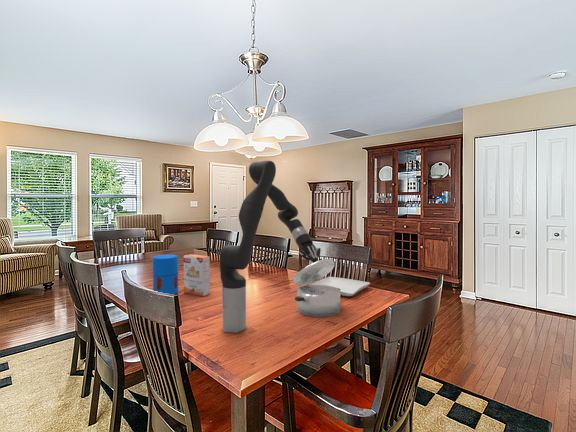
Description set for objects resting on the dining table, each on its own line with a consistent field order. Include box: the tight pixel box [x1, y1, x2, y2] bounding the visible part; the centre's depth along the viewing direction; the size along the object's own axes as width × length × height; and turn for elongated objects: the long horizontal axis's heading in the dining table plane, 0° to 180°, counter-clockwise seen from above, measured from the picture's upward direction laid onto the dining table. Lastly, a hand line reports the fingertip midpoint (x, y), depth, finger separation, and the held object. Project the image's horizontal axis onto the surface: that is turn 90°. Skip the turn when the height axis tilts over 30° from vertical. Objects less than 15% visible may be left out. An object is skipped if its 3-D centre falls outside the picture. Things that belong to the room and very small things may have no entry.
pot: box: [294, 284, 341, 318], centre depth 148 cm, size 20×26×9 cm
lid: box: [293, 258, 336, 287], centre depth 150 cm, size 22×21×2 cm
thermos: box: [152, 254, 180, 297], centre depth 146 cm, size 11×11×25 cm
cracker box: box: [183, 253, 211, 297], centre depth 172 cm, size 14×6×21 cm, turn 62°
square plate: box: [310, 276, 371, 297], centre depth 181 cm, size 27×27×4 cm
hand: (318, 266), depth 147 cm, fingers closed
